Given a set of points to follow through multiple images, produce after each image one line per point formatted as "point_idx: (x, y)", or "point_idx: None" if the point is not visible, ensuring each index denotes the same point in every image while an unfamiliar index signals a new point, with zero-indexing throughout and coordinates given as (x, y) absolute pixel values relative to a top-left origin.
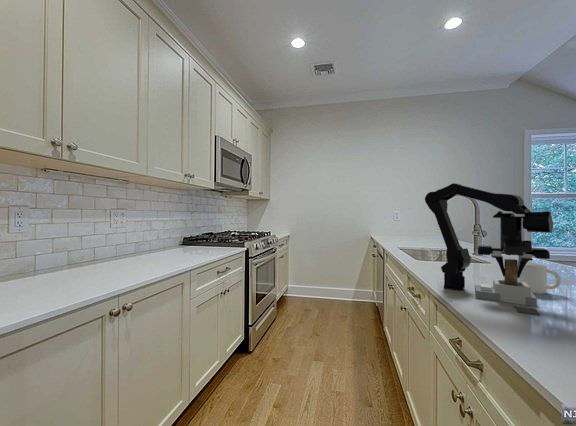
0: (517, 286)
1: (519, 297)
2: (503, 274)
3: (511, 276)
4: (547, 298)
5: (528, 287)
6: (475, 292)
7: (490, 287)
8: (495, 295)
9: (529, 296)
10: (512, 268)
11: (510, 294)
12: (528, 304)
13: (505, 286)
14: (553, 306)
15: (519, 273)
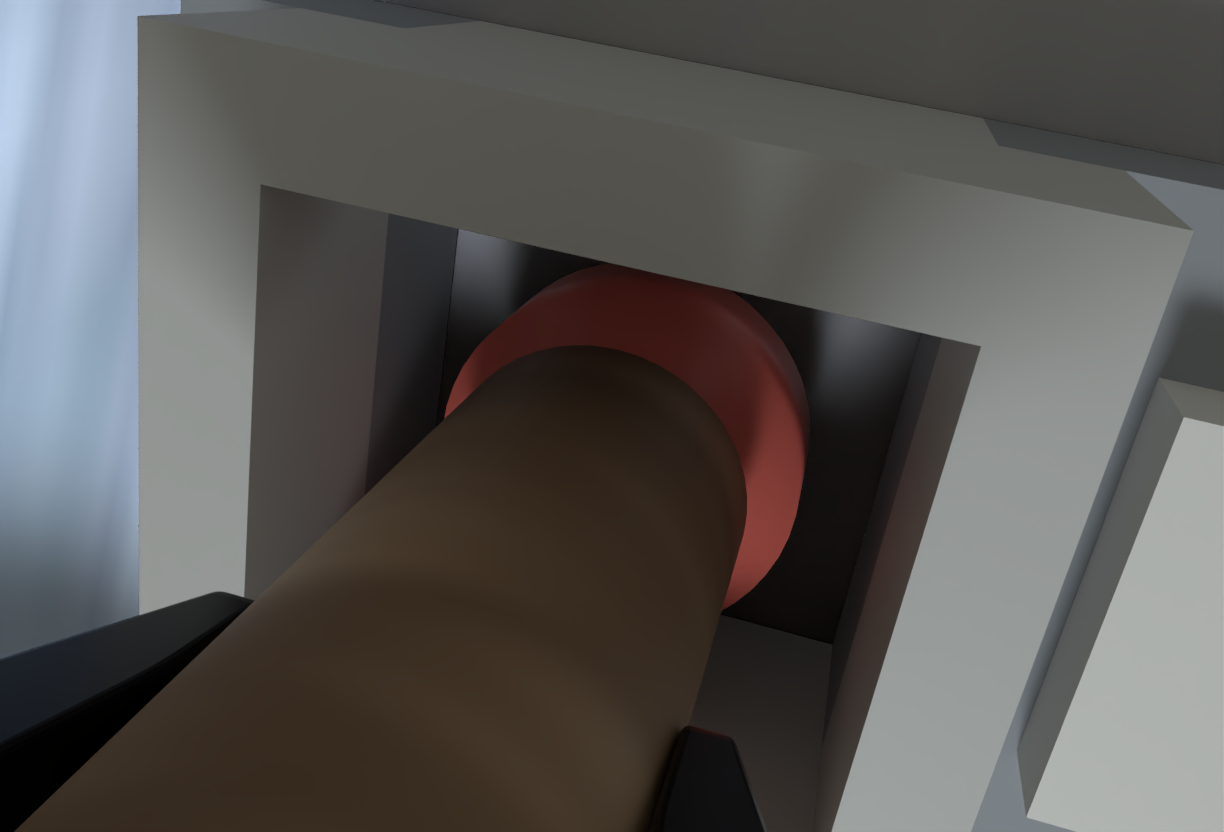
0: (473, 138)
1: (545, 52)
2: (722, 769)
3: (476, 547)
4: (15, 649)
5: (179, 102)
6: None
7: (1195, 457)
8: (1112, 164)
9: (310, 17)
10: (236, 777)
11: (738, 93)
12: (423, 10)
13: (853, 152)
14: (12, 115)
15: (100, 655)
